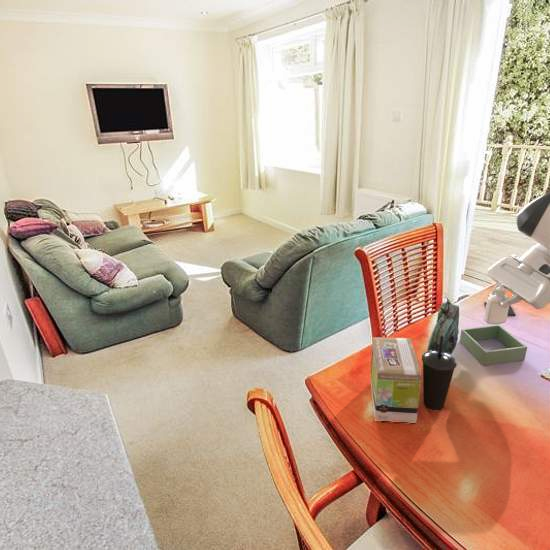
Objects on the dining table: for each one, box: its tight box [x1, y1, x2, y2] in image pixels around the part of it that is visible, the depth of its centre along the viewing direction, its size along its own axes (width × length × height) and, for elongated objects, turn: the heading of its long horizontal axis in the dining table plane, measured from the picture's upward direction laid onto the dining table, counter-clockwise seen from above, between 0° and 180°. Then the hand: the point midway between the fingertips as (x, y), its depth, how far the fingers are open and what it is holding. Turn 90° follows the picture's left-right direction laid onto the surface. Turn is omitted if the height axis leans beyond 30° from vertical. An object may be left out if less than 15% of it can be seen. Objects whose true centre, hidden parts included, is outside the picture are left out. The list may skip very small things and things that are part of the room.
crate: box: [459, 324, 528, 366], centre depth 110 cm, size 12×12×4 cm
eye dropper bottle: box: [483, 284, 510, 325], centre depth 106 cm, size 4×6×12 cm
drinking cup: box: [421, 336, 458, 411], centre depth 90 cm, size 8×8×20 cm
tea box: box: [370, 336, 423, 424], centre depth 93 cm, size 15×10×15 cm, turn 171°
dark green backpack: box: [426, 298, 460, 355], centre depth 102 cm, size 20×6×20 cm, turn 146°
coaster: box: [483, 301, 516, 317], centre depth 131 cm, size 8×8×1 cm
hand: (496, 302), depth 105 cm, fingers closed on eye dropper bottle, 3 cm apart
